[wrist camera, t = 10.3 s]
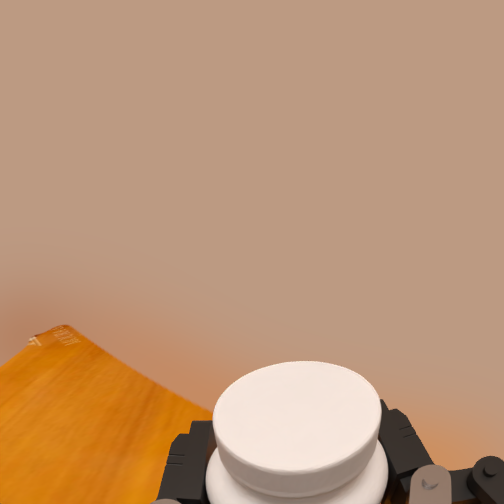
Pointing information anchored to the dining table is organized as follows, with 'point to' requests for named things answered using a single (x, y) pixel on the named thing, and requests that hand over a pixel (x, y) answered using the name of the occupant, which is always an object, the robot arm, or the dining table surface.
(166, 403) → the dining table surface
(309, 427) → the supplement bottle
